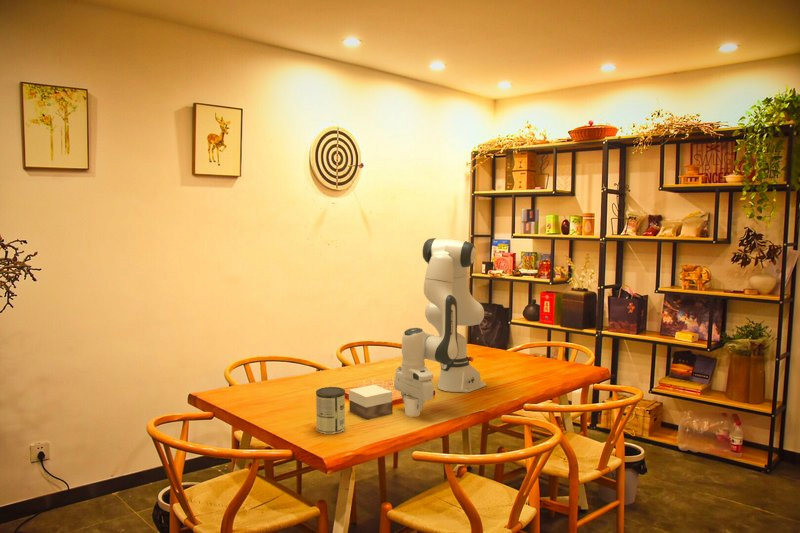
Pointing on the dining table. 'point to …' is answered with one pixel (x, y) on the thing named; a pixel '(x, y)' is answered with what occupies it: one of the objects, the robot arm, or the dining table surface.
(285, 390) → the dining table surface
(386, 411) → the walnut base block
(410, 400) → the white cylinder
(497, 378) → the dining table surface
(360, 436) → the dining table surface
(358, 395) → the cream top block
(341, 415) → the coffee can
